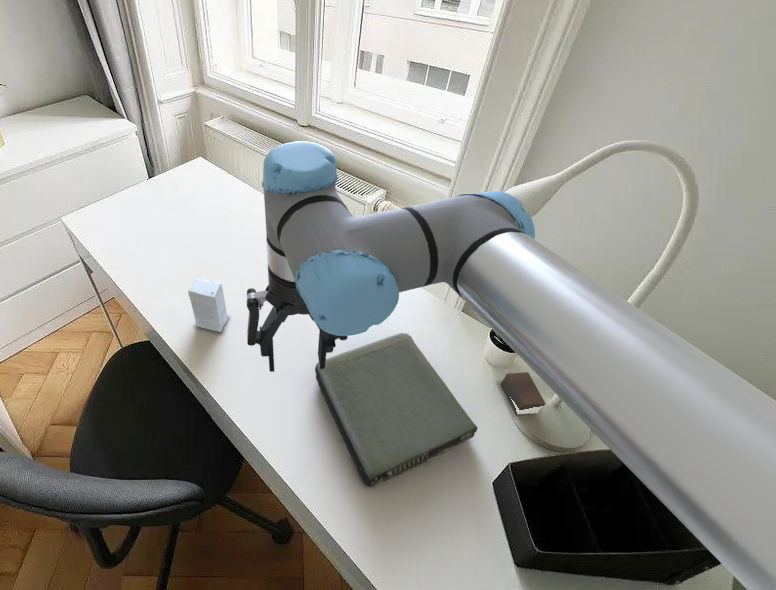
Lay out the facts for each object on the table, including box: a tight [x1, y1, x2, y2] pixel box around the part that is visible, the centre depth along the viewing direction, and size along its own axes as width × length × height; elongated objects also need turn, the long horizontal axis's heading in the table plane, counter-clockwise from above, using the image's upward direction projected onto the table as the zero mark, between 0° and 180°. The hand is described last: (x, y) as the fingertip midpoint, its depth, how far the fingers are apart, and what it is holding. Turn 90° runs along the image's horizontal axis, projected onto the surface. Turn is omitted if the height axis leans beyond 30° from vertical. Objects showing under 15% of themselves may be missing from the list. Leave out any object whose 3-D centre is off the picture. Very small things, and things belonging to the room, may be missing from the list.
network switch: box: [314, 332, 478, 488], centre depth 74 cm, size 23×24×5 cm
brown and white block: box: [500, 371, 547, 416], centre depth 75 cm, size 6×4×4 cm, turn 3°
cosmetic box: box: [187, 277, 229, 333], centre depth 88 cm, size 6×4×12 cm
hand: (296, 362), depth 65 cm, fingers open, 7 cm apart
